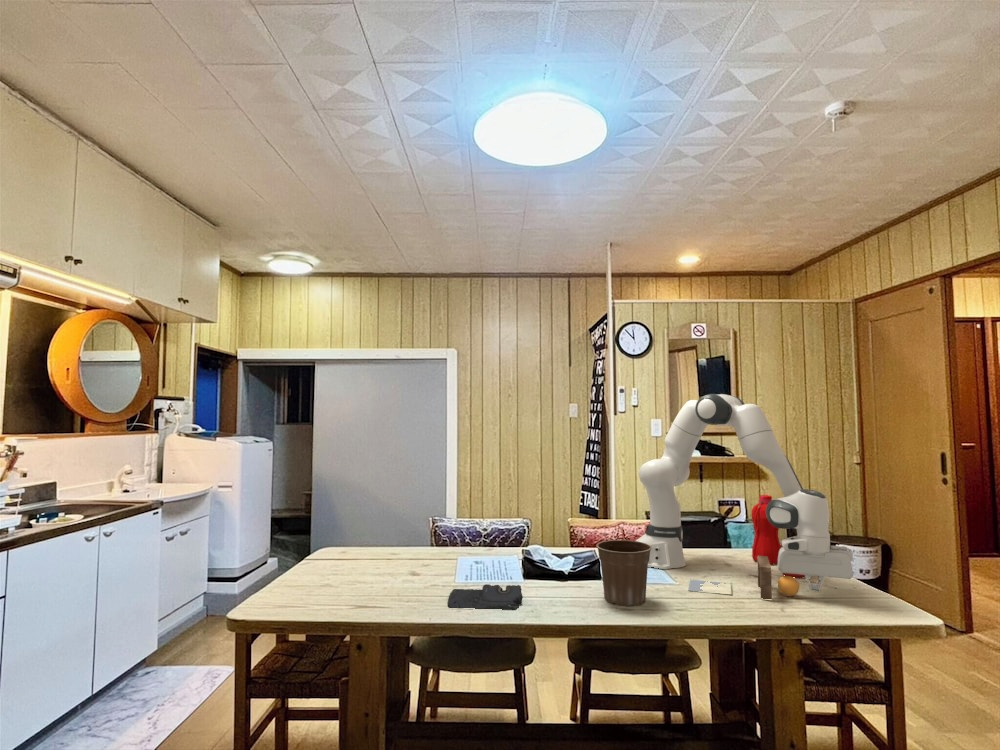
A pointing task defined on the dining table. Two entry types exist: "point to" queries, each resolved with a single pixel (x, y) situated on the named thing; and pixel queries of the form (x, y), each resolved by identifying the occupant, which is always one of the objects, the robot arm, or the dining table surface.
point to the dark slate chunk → (487, 598)
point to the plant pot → (624, 571)
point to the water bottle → (764, 533)
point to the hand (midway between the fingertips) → (814, 590)
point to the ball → (788, 586)
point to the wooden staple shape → (764, 577)
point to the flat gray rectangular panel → (695, 585)
